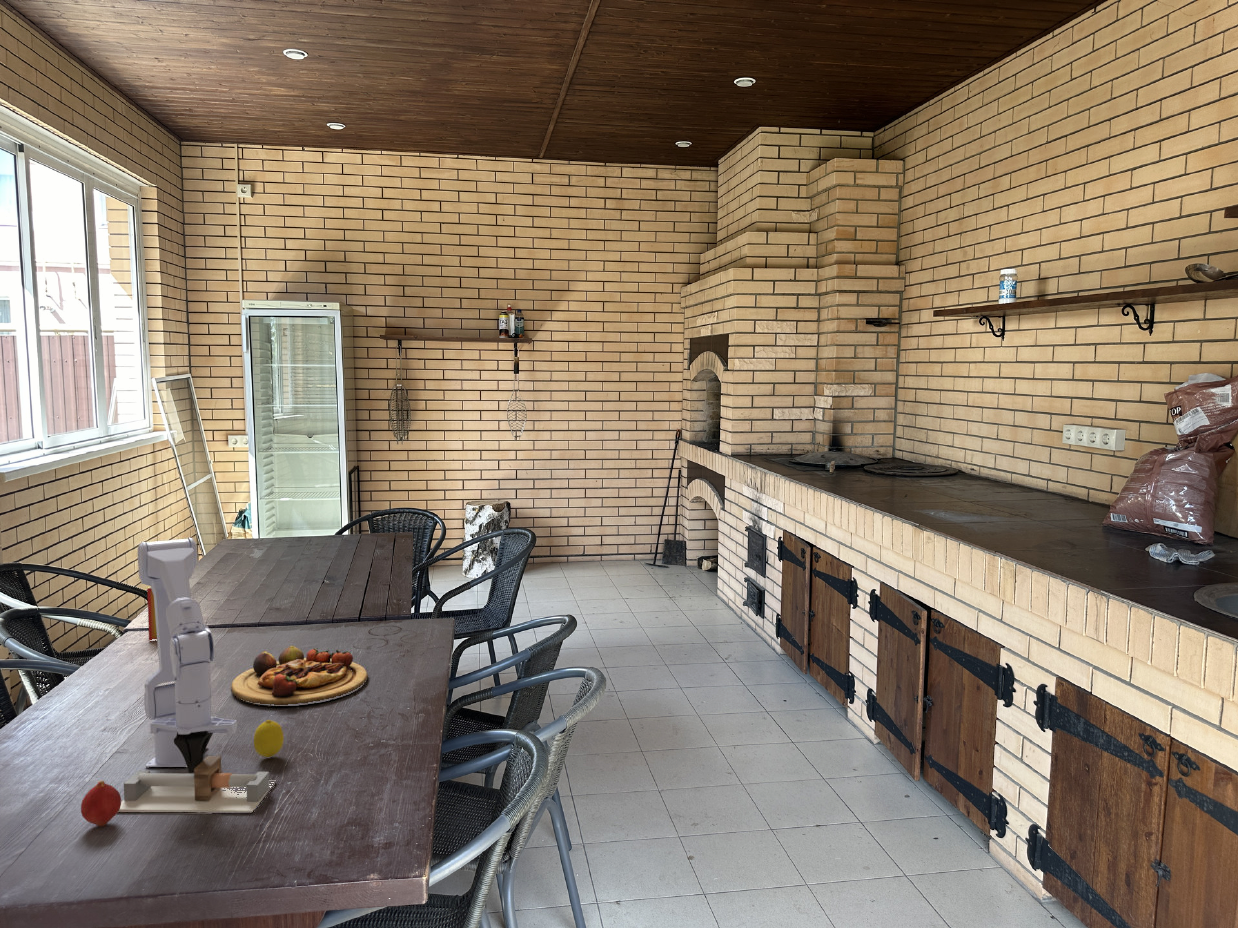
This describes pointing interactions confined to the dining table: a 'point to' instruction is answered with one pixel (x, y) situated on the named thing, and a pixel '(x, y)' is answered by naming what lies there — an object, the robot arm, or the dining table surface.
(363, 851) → the dining table surface
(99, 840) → the dining table surface
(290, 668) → the wooden plate with food
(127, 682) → the dining table surface
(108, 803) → the red pomegranate
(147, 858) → the dining table surface
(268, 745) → the lemon
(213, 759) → the collar
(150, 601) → the baking soda box
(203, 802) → the rail
